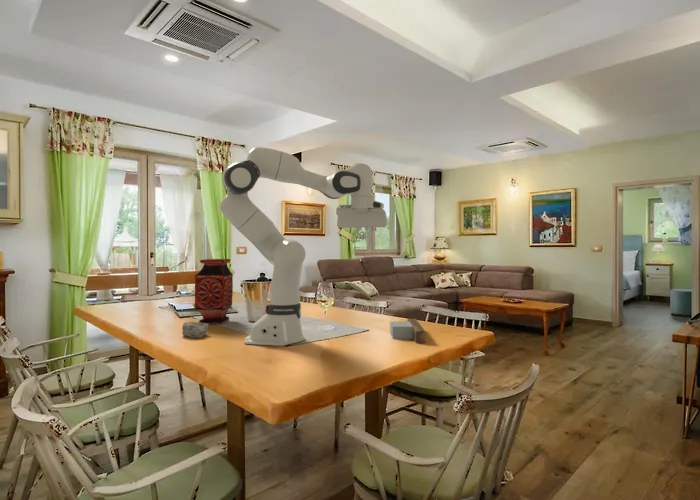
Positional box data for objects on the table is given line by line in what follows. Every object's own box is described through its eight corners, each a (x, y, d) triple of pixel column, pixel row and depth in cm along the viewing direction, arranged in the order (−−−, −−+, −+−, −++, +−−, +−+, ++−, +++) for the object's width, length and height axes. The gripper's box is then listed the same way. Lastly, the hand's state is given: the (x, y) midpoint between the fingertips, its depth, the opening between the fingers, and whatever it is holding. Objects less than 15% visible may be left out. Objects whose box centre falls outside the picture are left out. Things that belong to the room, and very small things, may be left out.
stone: (177, 338, 159) (177, 324, 159) (187, 334, 167) (186, 320, 167) (201, 339, 159) (201, 324, 158) (210, 334, 167) (210, 320, 167)
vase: (224, 325, 185) (223, 259, 184) (194, 325, 185) (193, 259, 184) (233, 319, 199) (232, 258, 198) (205, 319, 199) (205, 258, 198)
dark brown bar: (415, 343, 150) (415, 331, 150) (407, 329, 174) (407, 318, 174) (425, 343, 150) (425, 331, 150) (415, 329, 174) (415, 318, 174)
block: (392, 339, 157) (392, 326, 157) (390, 333, 167) (390, 321, 167) (413, 339, 157) (413, 326, 157) (409, 333, 167) (409, 321, 167)
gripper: (335, 204, 160) (336, 239, 160) (387, 203, 159) (387, 238, 160) (336, 205, 166) (336, 239, 166) (386, 205, 166) (386, 238, 166)
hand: (362, 238), depth 163 cm, fingers closed
